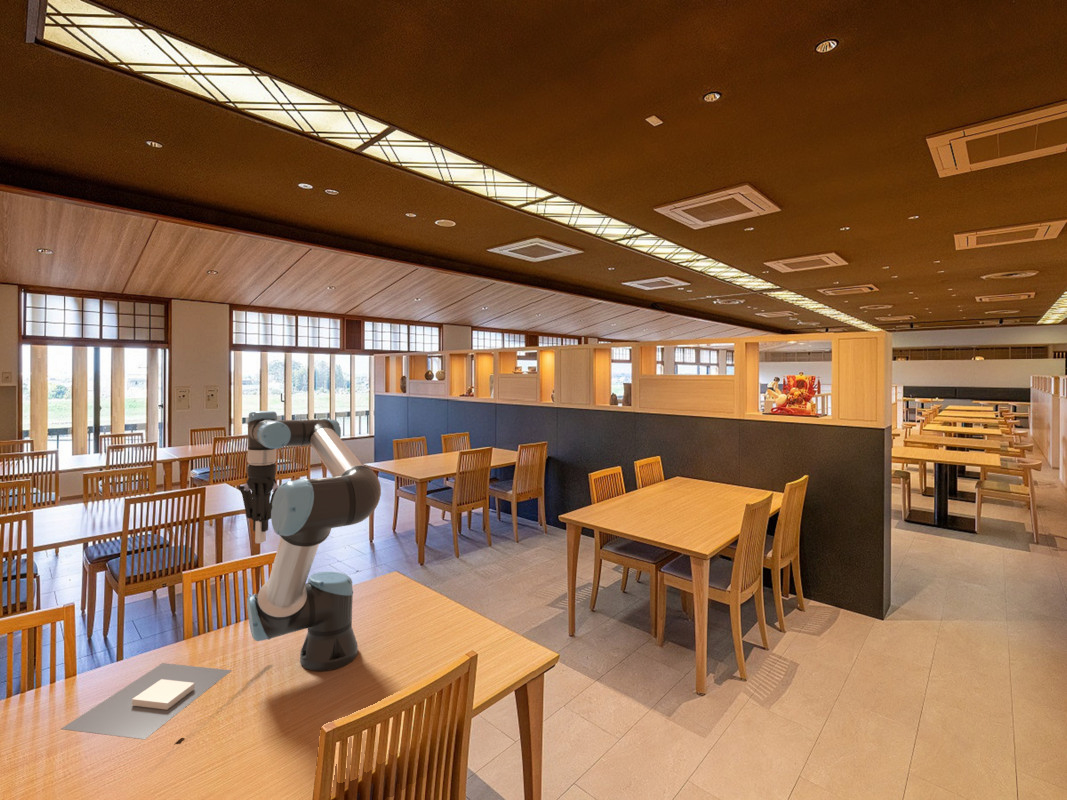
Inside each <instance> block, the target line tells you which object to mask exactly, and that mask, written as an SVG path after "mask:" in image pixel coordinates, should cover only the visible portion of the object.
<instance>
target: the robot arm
mask: <svg viewBox="0 0 1067 800" xmlns="http://www.w3.org/2000/svg"><path fill="white" fill-rule="evenodd" d="M248 413H249V414H248V417H247V419H248V421H247V423H246V424H247V454H246V455H247V457H246V458H247V459H246V461H247V463H248V464H247V467H246V470H247V471H246V476H247V480H246V483H245V484H243V485H240V486H239V487H238V490H239V492H240V494H241V495H242V497H241V498H242V500H243V501H242V502H243V507H244V511H245V516H246V518H247V519H251V520H252V527H253V528H252V530H253V532H255V534H254V535H255V536H254V539H255V540H254V543H255V544H262V543H264V542H266V537H267V533H266V532H267V531H268V530H269V520H270V521H271V526H272V529H273V531H274V533H276V535H278V536H279V538H280V539H279V542H278V545H277V546H278V547H277V550H276V554H275V557H274V560H273V564H272V567H271V570H270V571H271V572H270V574H269V579H268V580H267V581H266V582H265V583H264V584H262V586H261V587H260V588H259V591H258V593H254V594H251V595H250V596H248V597H247V599H246V608H247V617H248V625H249V628H250V633H251V636H252V639H253V640H254V641H256V642H261V641H268V640H269V641H270V640H271V639H274V638H278V637H281V636H285V635H288V634H291V633H295V632H299V631H302V630H303V631H304V630H305V629H307V631H306V632H307V633H306V635H305V638H304V641H303V644H302V647H301V648H300V649H301V650H300V654H299V655H300V656H299V663H300V665H301V666H302V667H303V668H305V669H306V670H309V671H316V672H323V671H325V672H326V671H331V670H336V669H338V668H339V669H340V668H341V667H344V666H346V665H348V664H349V663H351V662H352V661H354V659H356V657H357V656H358V648H359V647H358V642H357V638H356V636H355V632H354V629H353V625H352V623H353V622H352V621H353V618H352V617H353V599H354V598H353V597H354V596H353V595H354V591H353V590H354V589H353V580H352V578H351V577H350V576H349V575H347V574H345V573H342V572H337V571H320V572H315V573H313V574H311V575H310V572H311V569H312V565H313V562H314V559H315V557H316V553H317V552H318V548H319V545H320V544H322V543H324V541H326V540H327V538H329V535H330V534H331V531H332V529H335V528H340V527H341V528H342V527H346V526H347V527H348V526H353V525H356V524H360V523H361V522H363V521H365V520H366V519H368V517H370V516H371V515H372V513H373V512H374V511H375V510H376V508H377V507H378V504H379V503H380V499H381V497H382V496H381V495H382V487H381V483H380V480H379V477H378V476H377V473H375V472H374V470H373V469H372V468H371V467H369V466H367V465H365V464H362V463H361V462H360V460H359V459H358V458H357V456H356V455H355V454H354V453H353V451H352V450H350V448H349V447H348V445H347V444H346V443H344V440H342V438H341V435H342V429H341V426H340V423H339V421H338V420H336V419H327V418H323V419H289V420H288V419H284V420H283V419H282V420H279V419H278V414H277V412H276V411H274V410H273V411H272V410H271V411H270V410H255V411H250V412H248ZM302 446H307V447H308V446H310V447H311V448H312V449H313V451H314V452H315V453H316V455H317V457H318V458H319V459H320V460H321V462H322V464H323V465H324V466H325V467H326V470H327V471H328V472H329V473H330V475H331V476H328V477H326V476H325V477H319V478H309V479H306V478H298V479H295V480H288V481H285V482H283V483H281V484H280V485H279V484H277V480H276V475H277V464H276V462H277V450H278V449H282V448H284V447H302Z"/></svg>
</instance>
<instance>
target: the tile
mask: <svg viewBox="0 0 1067 800" xmlns="http://www.w3.org/2000/svg"><path fill="white" fill-rule="evenodd" d="M194 689H195V683H191V682H182V681H173V680H164V679H161V680H159V681H158V682H156V683H155V684H153V685H152V686H151V687H149V688H148V689H146V690H145V691H143V692H142V693H140V694H139V695H137V696H136V697H134V698H133V699H132V706H141V707H149V708H158V709H166V710H168V709H169V708H170V707H171V706H173V705H174V704H175V703H177V702H178V701H179V700H181V699H182V698H183V697H185V696H186V695H187V694H188V693H190V692H191V691H192V690H194Z"/></svg>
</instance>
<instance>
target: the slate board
mask: <svg viewBox="0 0 1067 800" xmlns="http://www.w3.org/2000/svg"><path fill="white" fill-rule="evenodd" d="M232 671H233V670H231V669H222V668H213V667H205V666H204V667H203V666H194V665H186V664H185V665H183V664H174V663H167V662H162V663H160V664H159V665H157V666H155V667H154V668H153V669H151V670H150V671H148V672H146V673H145V674H143V675H142V676H140V677H138V678H137V679H136V680H134V681H133V682H131V683H129V684H128V685H127V686H125V687H123V688H122V689H120V690H119V691H117V692H116V693H114V694H112V695H111V696H110V697H108V698H106V699H104V700H103V701H101V702H100V703H98V704H97V705H95V706H93V708H90V709H89V710H87V711H86V712H84V713H83V714H81V715H79V716H78V717H77V718H75V719H74V720H72V721H70V722H69V723H67V724H66V725H64V726H63V727H61V728H60V730H65V731H73V732H80V733H81V732H82V733H89V734H98V735H107V736H116V737H123V738H131V739H138V740H146V739H147V738H148V737H150V736H151V735H153V734H154V733H155V732H156V731H158V730H159V729H160V728H161V727H162V726H164V725H165V724H166V723H167V722H169V721H170V720H172V719H173V718H174V717H175V716H177V715H178V714H179V713H180V712H182V711H183V710H185V708H186V707H188V706H189V705H190V704H191V703H193V702H194V701H196V699H199V697H200V696H202V695H203V694H204V693H205V692H207V691H208V690H209V689H210V688H212V687H213V686H214V685H215V684H217V683H218V682H219V681H220V680H221V679H223V678H225V676H227V675H229V673H231V672H232ZM161 679H164V680H173V681H182V682H191V683H195V689H194V690H192V691H191V692H190V693H188V694H187V695H186V696H185V697H183V698H182V699H181V700H179V701H178V702H177V703H175V704H174V705H173V706H171V707H170V708H169V709H168V710H166V709H158V708H149V707H141V706H132V699H133V698H134V697H136V696H137V695H139V694H140V693H142V692H143V691H145V690H146V689H148V688H149V687H151V686H152V685H153V684H155V683H156V682H158V681H159V680H161Z"/></svg>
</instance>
